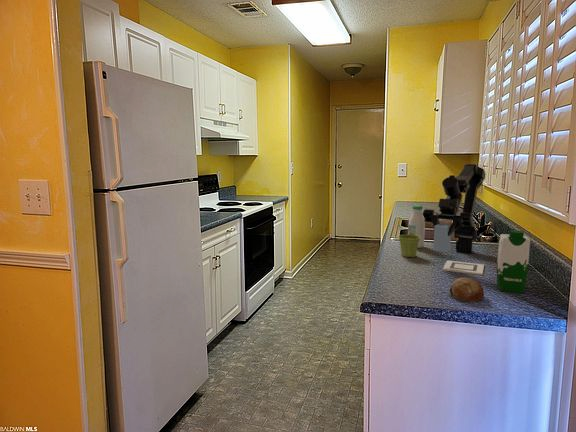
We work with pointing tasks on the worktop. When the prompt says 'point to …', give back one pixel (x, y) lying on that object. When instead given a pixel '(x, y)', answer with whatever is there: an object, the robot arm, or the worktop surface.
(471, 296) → the bread roll
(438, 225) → the blue block
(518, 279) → the milk carton
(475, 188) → the robot arm
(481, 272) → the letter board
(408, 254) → the plant pot
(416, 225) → the milk bottle
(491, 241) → the worktop surface
